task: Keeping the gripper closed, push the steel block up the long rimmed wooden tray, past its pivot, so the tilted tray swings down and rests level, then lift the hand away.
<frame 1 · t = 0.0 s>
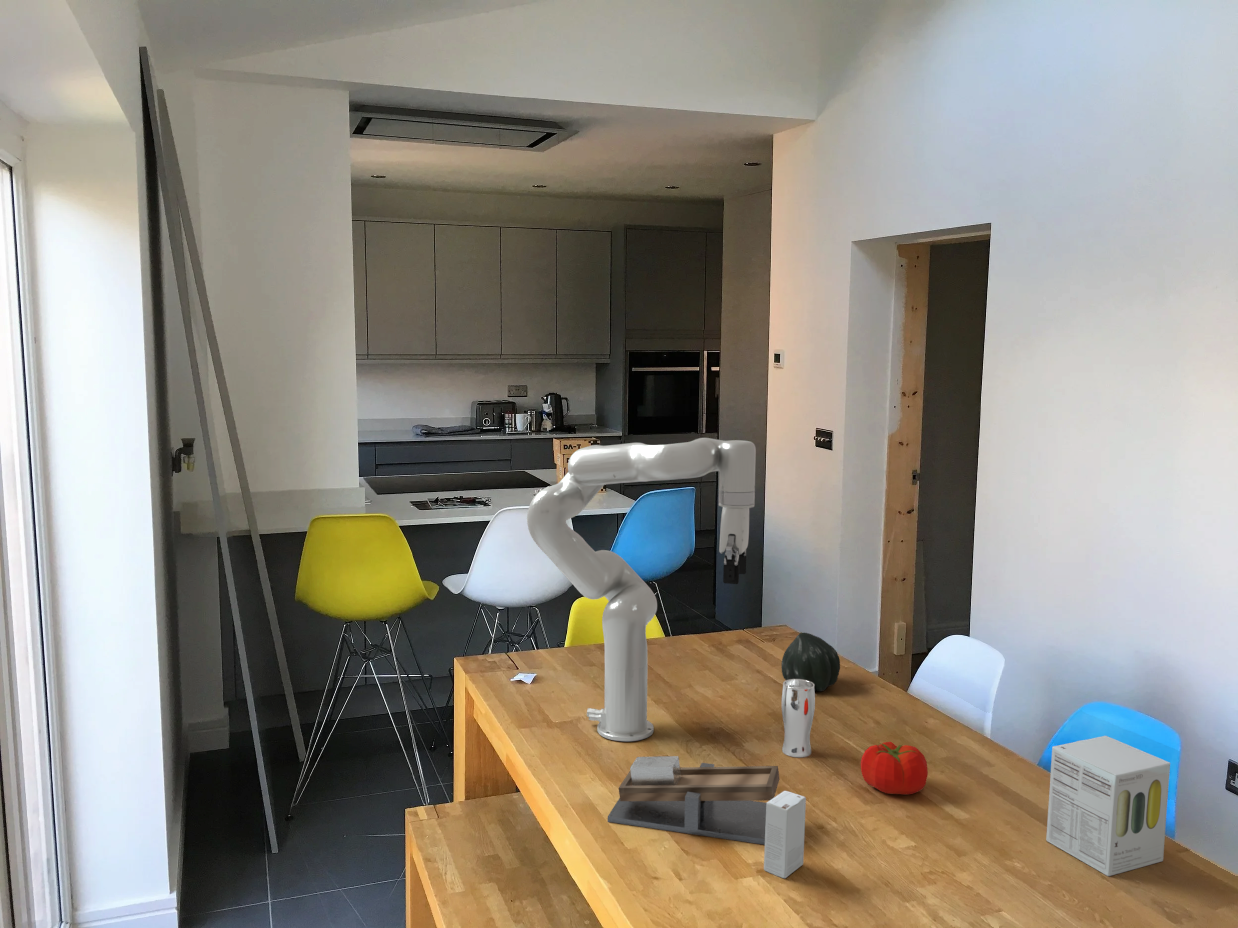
hand: (734, 578, 209), 37 cm above the table, tool pointing down, fingers open, 9 cm apart
supplement box: (1103, 852, 168), on the table
squash: (810, 687, 251), on the table
skincare box: (783, 869, 162), on the table
beer glass: (796, 752, 209), on the table
long rimmed wooden tray: (699, 783, 179), point 6 cm above the table, hinge at -8.3°, touching steel block
tomato: (893, 788, 192), on the table
pivot stand: (699, 816, 180), on the table
steel block: (657, 782, 181), point 5 cm above the table, tilted 8°, touching long rimmed wooden tray
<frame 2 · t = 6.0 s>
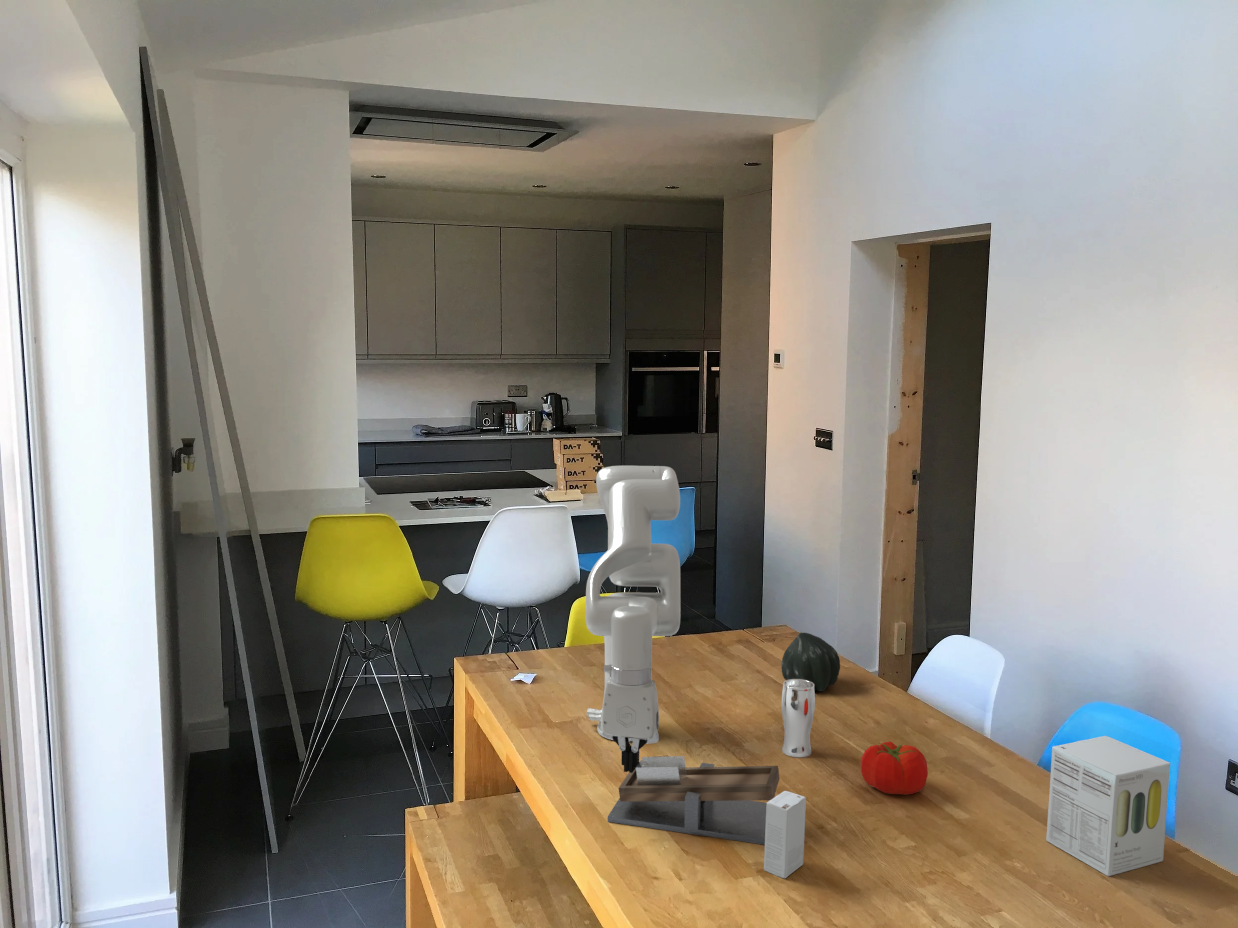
hand: (630, 769, 182), 7 cm above the table, tool pointing down, fingers closed
steel block: (662, 782, 181), point 5 cm above the table, tilted 9°, touching gripper, long rimmed wooden tray
everything else where it was.
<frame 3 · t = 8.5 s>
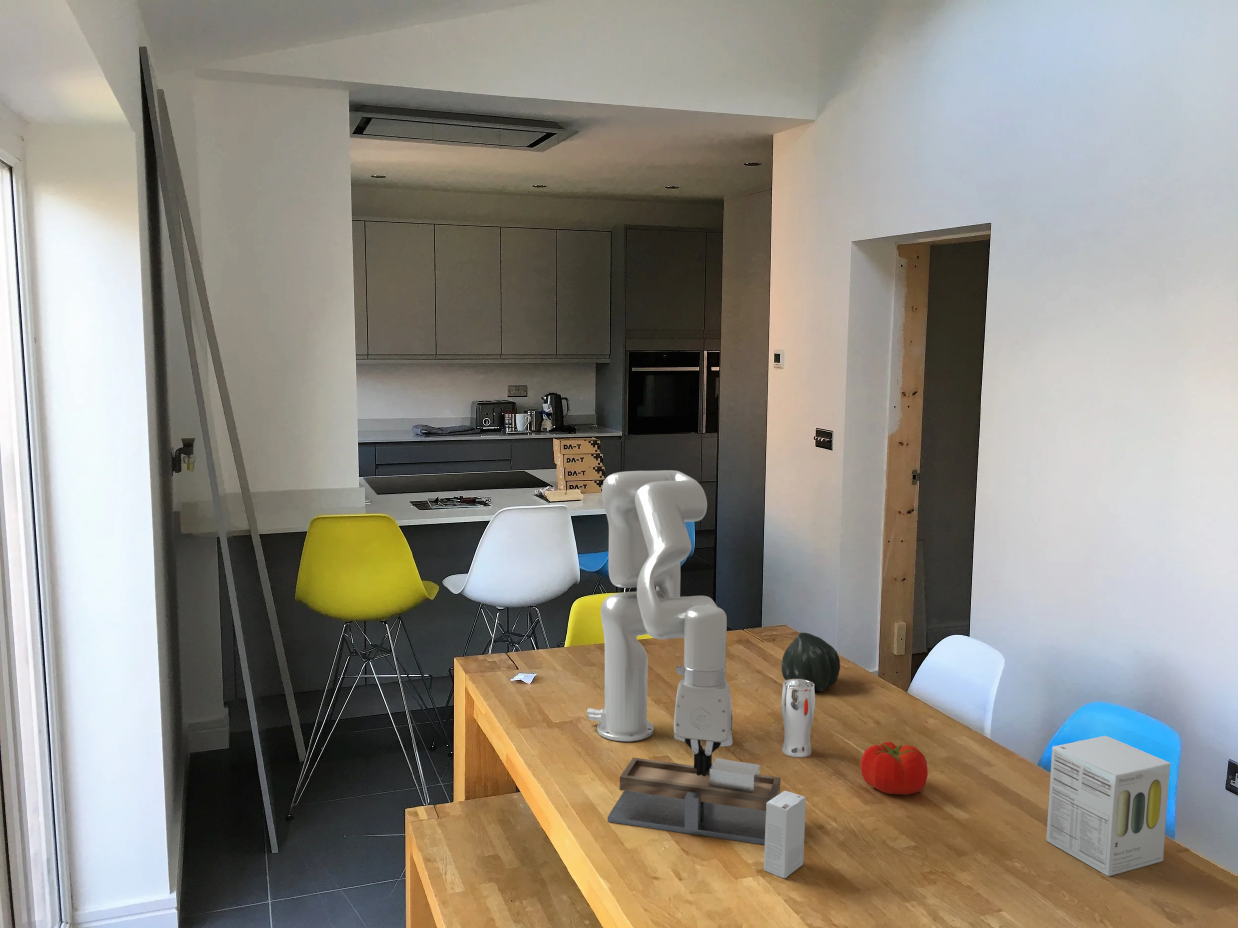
hand: (702, 772, 178), 8 cm above the table, tool pointing down, fingers closed
long rimmed wooden tray: (700, 783, 179), point 6 cm above the table, hinge at 0.5°
steel block: (734, 787, 177), point 6 cm above the table, touching gripper
everything else where it was.
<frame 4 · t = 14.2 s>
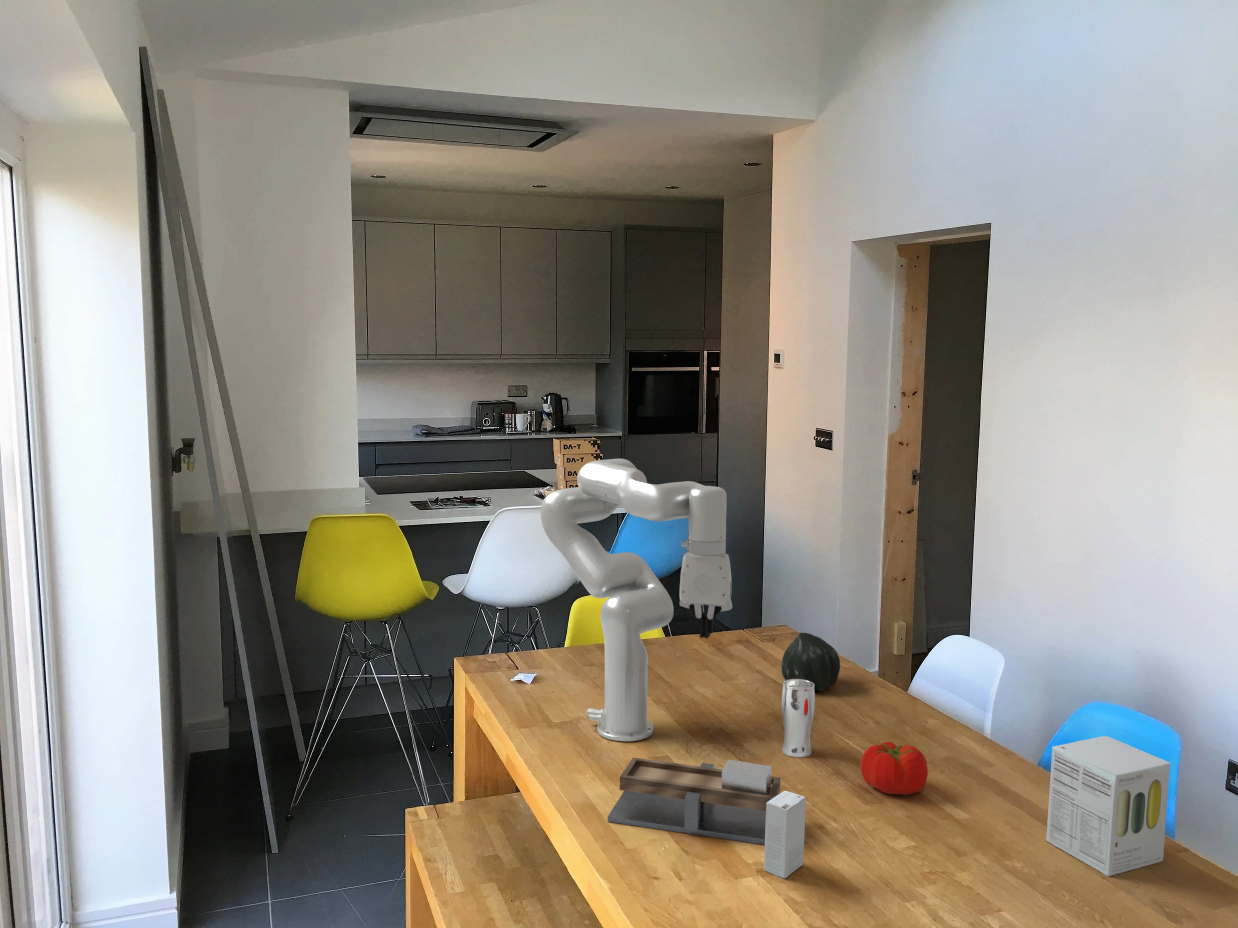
hand: (705, 636, 200), 27 cm above the table, tool pointing down, fingers closed
long rimmed wooden tray: (700, 783, 179), point 6 cm above the table, hinge at 0.5°, touching steel block
steel block: (746, 789, 176), point 6 cm above the table, touching long rimmed wooden tray
everything else where it was.
at the end: long rimmed wooden tray at +0° (first picture: -8°); steel block inside the target area on the long rimmed wooden tray (0.8 cm from its centre), point 1.4 cm above the long rimmed wooden tray's base; steel block tilted 1° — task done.
